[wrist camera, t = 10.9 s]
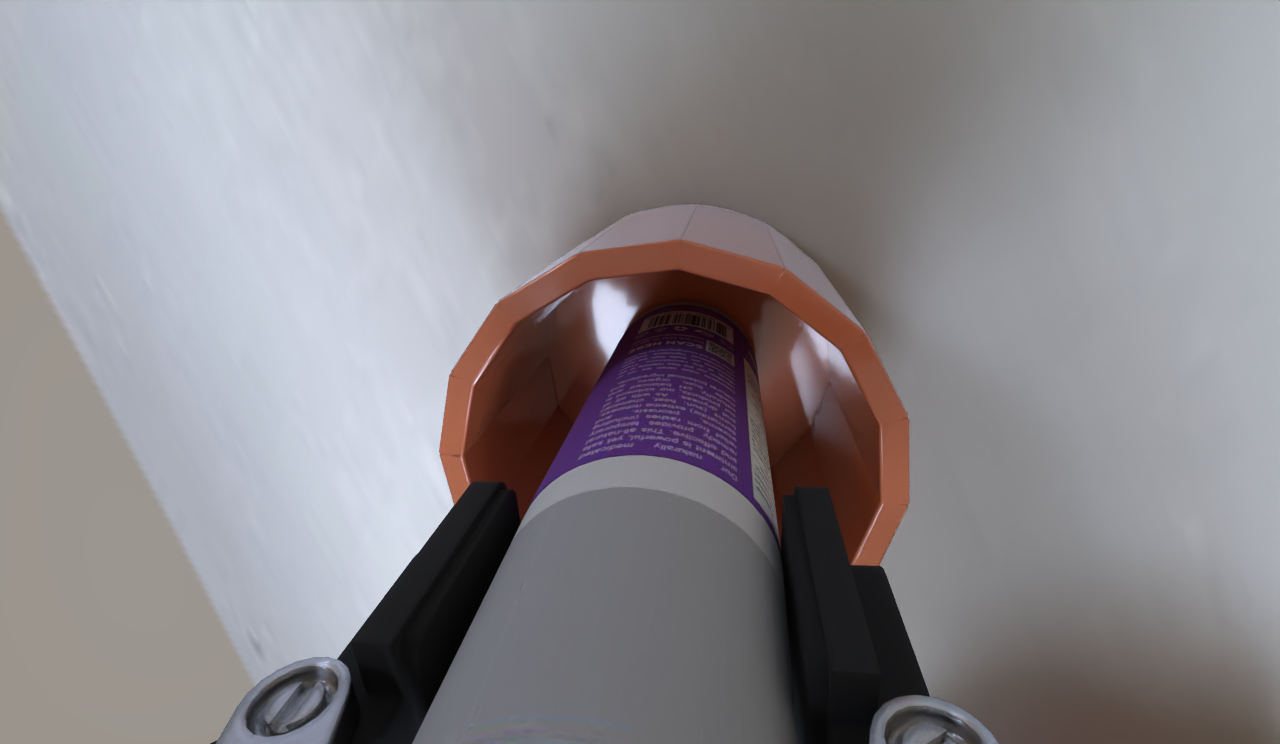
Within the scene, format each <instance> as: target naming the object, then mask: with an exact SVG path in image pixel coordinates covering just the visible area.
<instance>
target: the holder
mask: <svg viewBox="0 0 1280 744" xmlns="http://www.w3.org/2000/svg"><path fill="white" fill-rule="evenodd" d="M683 301H685V302H696V303H701V304H705V305H708V306H711V307H714V308H716V309H718V310H720V311H722V312H723V313H725V314H727V315H728V316H729V317H731V318H732V319H733V320H734V321H735V322H736V323H737V324H738V325H739V326H740V327H741V328H742V329H743V331H744V332H745V334H746V335H747V337H748V339H749V341H750V343H751V345H752V347H753V350H754V354H755V358H756V363H757V370H758V378H759V386H760V393H761V401H762V409H763V416H764V424H765V432H766V439H767V447H768V455H769V462H770V470H771V478H772V486H773V493H774V501H775V509H776V516H777V524H778V532H779V539H780V547H781V537H782V498H783V495H794V489H795V487H827V488H828V489H829V492H830V496H831V499H832V503H833V506H834V510H835V513H836V517H837V520H838V524H839V527H840V531H841V534H842V538H843V541H844V545H845V548H846V552H847V555H848V559H849V562H850V565H867V566H879V564H880V562H881V560H882V558H883V556H884V554H885V552H886V550H887V548H888V546H889V544H890V542H891V540H892V538H893V536H894V534H895V532H896V530H897V528H898V526H899V524H900V522H901V520H902V518H903V516H904V514H905V512H906V510H907V508H908V504H909V418H908V414H907V412H906V410H905V408H904V406H903V404H902V402H901V400H900V398H899V396H898V394H897V392H896V390H895V388H894V386H893V384H892V382H891V380H890V378H889V376H888V374H887V372H886V370H885V368H884V366H883V364H882V362H881V360H880V358H879V356H878V354H877V352H876V350H875V348H874V346H873V344H872V342H871V340H870V338H869V336H868V334H867V333H866V331H865V330H864V329H863V327H862V326H861V324H860V323H859V322H858V320H857V319H856V317H855V316H854V315H853V313H852V312H851V311H850V309H849V308H848V306H847V305H846V304H845V302H844V301H843V299H842V298H841V297H840V295H839V294H838V292H837V291H836V290H835V288H834V287H833V285H832V284H831V283H830V281H829V280H828V278H827V277H826V276H825V274H824V273H823V272H822V270H821V269H820V267H819V266H818V265H817V264H816V262H815V261H813V260H812V259H811V258H810V257H808V256H807V255H806V254H805V253H804V252H802V251H801V250H800V249H799V248H798V247H797V246H796V245H795V244H794V243H793V242H792V241H791V240H789V239H788V238H787V237H785V236H784V235H782V234H781V233H780V232H778V231H777V230H775V229H774V228H772V227H771V226H770V225H768V224H767V223H764V222H763V221H761V220H757V219H755V218H753V217H751V216H748V215H745V214H742V213H739V212H736V211H733V210H730V209H725V208H720V207H715V206H710V205H702V204H698V205H697V204H683V205H669V206H663V207H658V208H653V209H649V210H645V211H641V212H634V213H631V214H628V215H627V216H625V217H623V218H622V219H620V220H619V221H617V222H615V223H614V224H612V225H610V226H608V227H606V228H605V229H604V230H602V231H601V232H599V233H597V234H596V235H594V236H592V237H591V238H589V239H588V240H586V241H584V242H583V243H581V244H579V245H578V246H576V247H575V248H573V249H572V250H571V251H569V252H568V253H566V254H565V255H563V256H562V257H560V258H559V259H558V260H556V261H555V262H553V263H552V264H550V265H549V266H548V267H546V268H545V269H543V270H542V271H540V272H539V273H538V274H536V275H535V276H533V277H532V278H530V279H529V280H528V281H526V282H525V283H523V284H522V285H520V286H519V287H517V288H516V289H515V290H513V291H512V292H510V293H509V294H507V295H506V296H505V297H503V298H502V299H500V300H499V301H498V303H496V304H495V305H494V307H493V308H492V310H491V311H490V313H489V315H488V316H487V318H486V319H485V321H484V322H483V324H482V325H481V327H480V328H479V330H478V331H477V333H476V334H475V336H474V337H473V339H472V340H471V342H470V343H469V345H468V346H467V348H466V350H465V351H464V353H463V354H462V356H461V357H460V359H459V360H458V362H457V363H456V365H455V366H454V368H453V369H452V372H451V374H450V375H449V382H448V389H447V397H446V404H445V411H444V419H443V426H442V434H441V441H440V449H439V453H440V458H441V461H442V465H443V468H444V471H445V475H446V478H447V482H448V485H449V489H450V492H451V495H452V499H453V502H454V505H455V504H456V502H457V501H458V500H459V498H460V497H461V496H462V494H463V493H464V492H465V490H466V489H467V488H468V486H469V485H470V484H471V483H472V482H475V481H488V482H504V483H505V484H506V486H507V490H514V491H515V493H516V497H517V503H518V509H519V516H520V522H521V521H522V519H523V517H524V515H525V512H526V511H527V509H528V507H529V505H530V503H531V501H532V500H533V498H534V496H535V494H536V492H537V491H538V489H539V487H540V485H541V483H542V481H543V480H544V478H545V476H546V474H547V472H548V470H549V469H550V467H551V465H552V463H553V461H554V459H555V458H556V456H557V454H558V452H559V450H560V449H561V447H562V445H563V443H564V441H565V439H566V438H567V436H568V434H569V432H570V430H571V428H572V427H573V425H574V423H575V421H576V419H577V418H578V416H579V414H580V412H581V410H582V408H583V407H584V405H585V403H586V401H587V399H588V397H589V396H590V394H591V392H592V390H593V388H594V387H595V385H596V383H597V381H598V379H599V377H600V376H601V374H602V372H603V370H604V368H605V366H606V365H607V363H608V361H609V359H610V357H611V355H612V354H613V352H614V350H615V348H616V346H617V345H618V343H619V341H620V339H621V338H622V336H623V335H624V333H625V331H626V330H627V329H628V327H629V326H630V325H631V324H632V323H633V322H634V321H635V320H636V319H637V318H638V317H639V316H641V315H642V314H644V313H645V312H647V311H648V310H650V309H652V308H654V307H657V306H660V305H663V304H667V303H672V302H683Z"/></svg>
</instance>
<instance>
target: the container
mask: <svg viewBox="0 0 1280 744" xmlns="http://www.w3.org/2000/svg"><path fill="white" fill-rule="evenodd" d="M412 744H798V737H797V726H796V714H795V703H794V691H793V680H792V668H791V657H790V645H789V634H788V622H787V609H786V597H785V586H784V574H783V563H782V555H781V547H780V539H779V532H778V524H777V516H776V509H775V501H774V493H773V486H772V478H771V470H770V462H769V455H768V447H767V439H766V432H765V424H764V416H763V409H762V401H761V393H760V386H759V378H758V370H757V363H756V358H755V354H754V350H753V347H752V345H751V343H750V341H749V339H748V337H747V335H746V334H745V332H744V331H743V329H742V328H741V327H740V326H739V325H738V324H737V323H736V322H735V321H734V320H733V319H732V318H731V317H729V316H728V315H727V314H725V313H723V312H722V311H720V310H718V309H716V308H714V307H711V306H708V305H705V304H701V303H696V302H685V301H683V302H672V303H667V304H663V305H660V306H657V307H654V308H652V309H650V310H648V311H647V312H645V313H644V314H642V315H641V316H639V317H638V318H637V319H636V320H635V321H634V322H633V323H632V324H631V325H630V326H629V327H628V329H627V330H626V331H625V333H624V335H623V336H622V338H621V339H620V341H619V343H618V345H617V346H616V348H615V350H614V352H613V354H612V355H611V357H610V359H609V361H608V363H607V365H606V366H605V368H604V370H603V372H602V374H601V376H600V377H599V379H598V381H597V383H596V385H595V387H594V388H593V390H592V392H591V394H590V396H589V397H588V399H587V401H586V403H585V405H584V407H583V408H582V410H581V412H580V414H579V416H578V418H577V419H576V421H575V423H574V425H573V427H572V428H571V430H570V432H569V434H568V436H567V438H566V439H565V441H564V443H563V445H562V447H561V449H560V450H559V452H558V454H557V456H556V458H555V459H554V461H553V463H552V465H551V467H550V469H549V470H548V472H547V474H546V476H545V478H544V480H543V481H542V483H541V485H540V487H539V489H538V491H537V492H536V494H535V496H534V498H533V500H532V501H531V503H530V505H529V507H528V509H527V511H526V512H525V515H524V517H523V519H522V521H521V524H520V526H519V528H518V530H517V532H516V534H515V536H514V538H513V540H512V542H511V545H510V547H509V549H508V551H507V553H506V555H505V557H504V559H503V561H502V563H501V565H500V567H499V569H498V571H497V573H496V575H495V577H494V579H493V581H492V583H491V585H490V587H489V589H488V591H487V593H486V595H485V597H484V599H483V601H482V603H481V605H480V607H479V609H478V611H477V613H476V615H475V617H474V619H473V621H472V623H471V625H470V627H469V629H468V631H467V633H466V636H465V638H464V640H463V642H462V644H461V646H460V648H459V650H458V652H457V654H456V656H455V658H454V660H453V662H452V664H451V666H450V668H449V670H448V672H447V674H446V676H445V678H444V680H443V682H442V684H441V686H440V688H439V690H438V692H437V694H436V696H435V698H434V700H433V702H432V704H431V706H430V708H429V710H428V712H427V714H426V716H425V718H424V721H423V723H422V725H421V727H420V729H419V731H418V733H417V735H416V737H415V739H414V741H413V743H412Z"/></svg>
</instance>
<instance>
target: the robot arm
mask: <svg viewBox="0 0 1280 744" xmlns="http://www.w3.org/2000/svg"><path fill="white" fill-rule="evenodd" d="M520 524H521V522H520V516H519V509H518V503H517V497H516V493H515V491H514V490H507V486H506V484H505V483H504V482H488V481H475V482H472V483H471V484H470V485H469V486H468V488H467V489H466V490H465V492H464V493H463V494H462V496H461V497H460V498H459V500H458V501H457V502H456V504H455V505H454V506H453V508H452V509H451V510H450V512H449V513H448V514H447V516H446V517H445V518H444V520H443V521H442V522H441V524H440V525H439V526H438V528H437V529H436V530H435V532H434V533H433V534H432V536H431V537H430V538H429V540H428V541H427V542H426V544H425V545H424V546H423V548H422V549H421V550H420V552H419V553H418V554H417V555H416V556H415V557H414V558H413V559H412V561H411V562H410V563H409V565H408V566H407V567H406V569H405V570H404V571H403V573H402V574H401V575H400V577H399V578H398V579H397V581H396V582H395V583H394V585H393V586H392V587H391V588H390V590H389V591H388V592H387V594H386V595H385V596H384V598H383V599H382V600H381V602H380V603H379V604H378V606H377V607H376V608H375V610H374V611H373V612H372V614H371V615H370V616H369V618H368V619H367V620H366V622H365V623H364V624H363V626H362V627H361V628H360V630H359V631H358V632H357V634H356V635H355V636H354V638H353V639H352V640H351V642H350V643H349V644H348V646H347V647H346V648H345V650H344V651H343V652H342V654H341V655H340V656H339V658H338V659H337V660H336V659H333V658H329V657H313V658H309V659H305V660H301V661H297V662H294V663H292V664H290V665H287V666H285V667H283V668H281V669H278V670H277V671H275V672H274V673H272V674H271V675H269V676H267V677H266V678H264V679H263V680H261V681H260V682H259V683H258V684H257V685H256V686H255V687H254V688H253V689H251V690H250V691H249V692H248V693H247V695H246V696H245V697H244V698H243V700H242V701H241V702H240V704H239V705H238V706H237V708H236V710H235V712H234V713H233V715H232V717H231V718H230V720H229V722H228V723H227V725H226V727H225V729H224V730H223V732H222V734H221V736H220V737H219V739H218V740H217V741H215V742H213V743H211V744H412V743H413V741H414V739H415V737H416V735H417V733H418V731H419V729H420V727H421V725H422V723H423V721H424V718H425V716H426V714H427V712H428V710H429V708H430V706H431V704H432V702H433V700H434V698H435V696H436V694H437V692H438V690H439V688H440V686H441V684H442V682H443V680H444V678H445V676H446V674H447V672H448V670H449V668H450V666H451V664H452V662H453V660H454V658H455V656H456V654H457V652H458V650H459V648H460V646H461V644H462V642H463V640H464V638H465V636H466V633H467V631H468V629H469V627H470V625H471V623H472V621H473V619H474V617H475V615H476V613H477V611H478V609H479V607H480V605H481V603H482V601H483V599H484V597H485V595H486V593H487V591H488V589H489V587H490V585H491V583H492V581H493V579H494V577H495V575H496V573H497V571H498V569H499V567H500V565H501V563H502V561H503V559H504V557H505V555H506V553H507V551H508V549H509V547H510V545H511V542H512V540H513V538H514V536H515V534H516V532H517V530H518V528H519V526H520ZM781 555H782V563H783V574H784V586H785V597H786V609H787V622H788V634H789V645H790V657H791V668H792V680H793V691H794V703H795V714H796V726H797V737H798V744H999V743H998V742H997V740H996V739H995V738H994V736H993V735H992V733H991V732H990V731H989V730H988V729H987V728H986V727H985V726H984V725H983V724H982V723H980V722H979V721H978V720H977V719H976V718H975V717H974V716H972V715H971V714H969V713H967V712H966V711H964V710H962V709H961V708H959V707H958V706H956V705H954V704H951V703H948V702H946V701H943V700H940V699H938V698H935V697H930V695H929V692H928V690H927V687H926V684H925V681H924V679H923V676H922V673H921V670H920V667H919V665H918V662H917V659H916V656H915V654H914V651H913V648H912V645H911V643H910V640H909V637H908V634H907V631H906V629H905V626H904V623H903V620H902V618H901V615H900V612H899V609H898V607H897V604H896V601H895V598H894V595H893V593H892V590H891V587H890V584H889V582H888V579H887V576H886V574H885V572H884V569H883V568H882V567H881V566H867V565H850V562H849V559H848V555H847V552H846V548H845V545H844V541H843V538H842V534H841V531H840V527H839V524H838V520H837V517H836V513H835V510H834V506H833V503H832V499H831V496H830V492H829V489H828V488H827V487H795V489H794V495H783V498H782V537H781Z"/></svg>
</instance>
